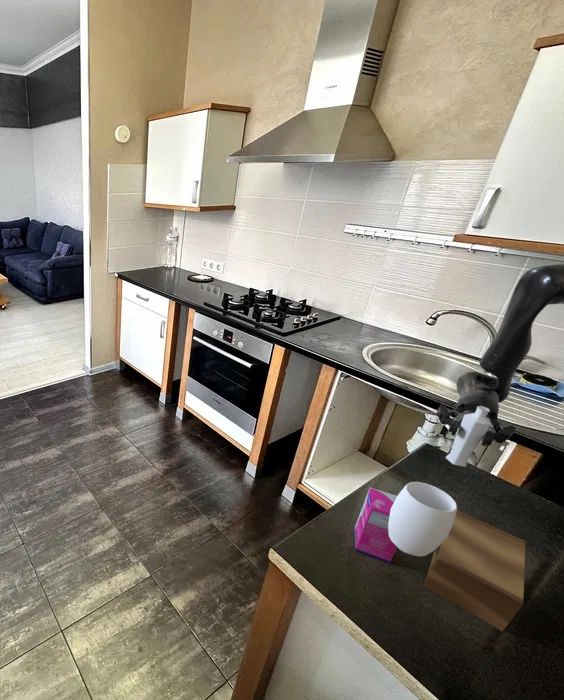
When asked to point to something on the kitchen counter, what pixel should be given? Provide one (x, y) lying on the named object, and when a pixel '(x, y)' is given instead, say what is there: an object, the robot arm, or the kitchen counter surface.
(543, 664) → the kitchen counter surface
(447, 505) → the cup
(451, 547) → the wood grain block
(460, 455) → the perfume bottle
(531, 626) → the kitchen counter surface
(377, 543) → the supplement box
